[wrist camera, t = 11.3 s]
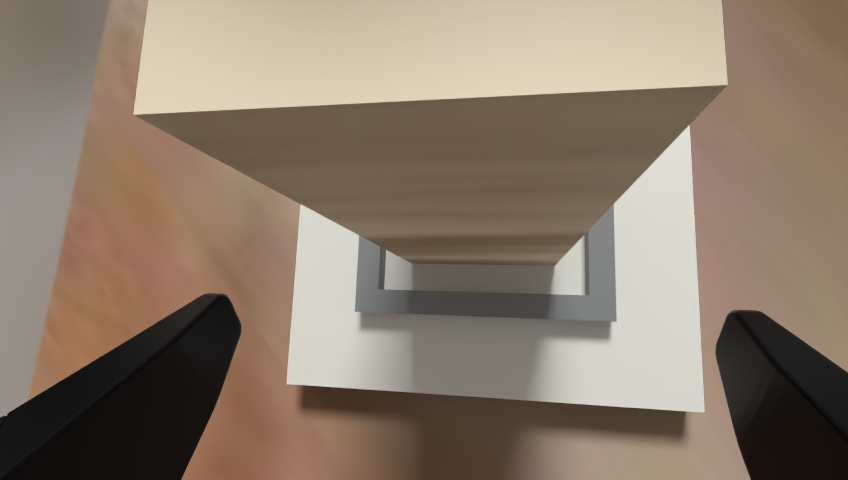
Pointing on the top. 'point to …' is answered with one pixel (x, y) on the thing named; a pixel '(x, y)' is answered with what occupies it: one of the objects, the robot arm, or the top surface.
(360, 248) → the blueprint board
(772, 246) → the top surface
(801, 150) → the top surface
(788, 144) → the top surface
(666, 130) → the maple pillar
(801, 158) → the top surface
